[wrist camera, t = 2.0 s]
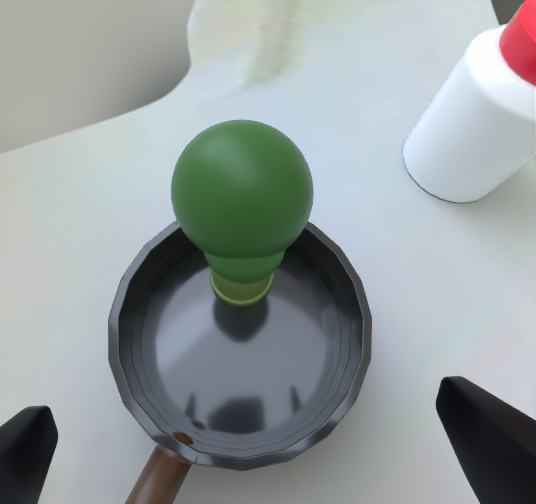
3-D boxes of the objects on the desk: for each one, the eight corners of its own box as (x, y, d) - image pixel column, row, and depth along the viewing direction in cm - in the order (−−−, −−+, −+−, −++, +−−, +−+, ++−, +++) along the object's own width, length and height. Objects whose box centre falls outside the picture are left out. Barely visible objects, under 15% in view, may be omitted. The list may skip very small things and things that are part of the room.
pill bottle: (506, 206, 26) (675, 90, 16) (408, 199, 26) (519, 76, 16) (485, 127, 29) (616, -13, 19) (397, 120, 29) (484, -28, 19)
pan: (294, 498, 18) (310, 530, 14) (88, 382, 19) (48, 380, 15) (373, 288, 23) (404, 266, 19) (204, 206, 24) (197, 169, 20)
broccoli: (285, 322, 21) (342, 239, 9) (200, 326, 21) (149, 245, 9) (277, 231, 23) (316, 75, 12) (201, 233, 23) (161, 72, 11)
